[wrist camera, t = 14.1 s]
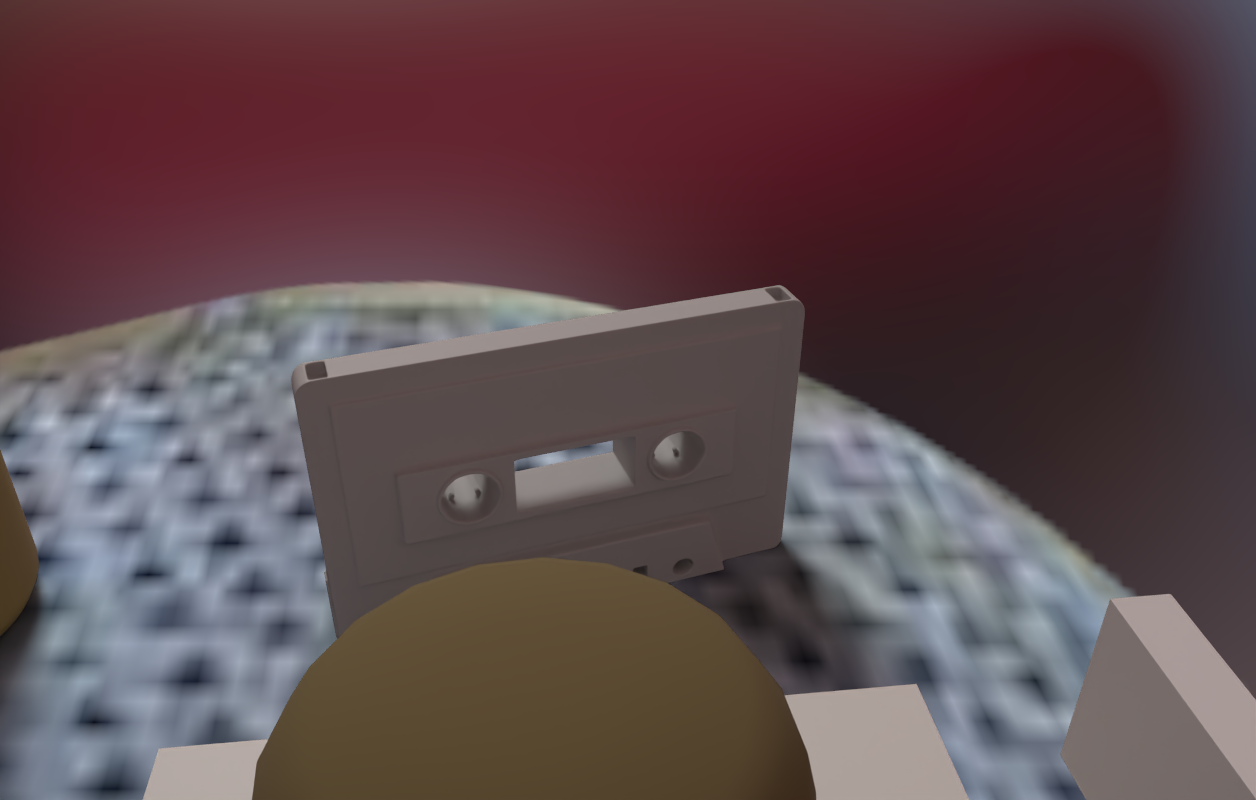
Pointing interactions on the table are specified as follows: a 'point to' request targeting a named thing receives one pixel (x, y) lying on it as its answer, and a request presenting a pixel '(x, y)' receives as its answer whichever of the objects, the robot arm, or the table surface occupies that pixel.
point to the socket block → (827, 721)
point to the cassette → (555, 445)
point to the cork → (537, 698)
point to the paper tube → (14, 553)
